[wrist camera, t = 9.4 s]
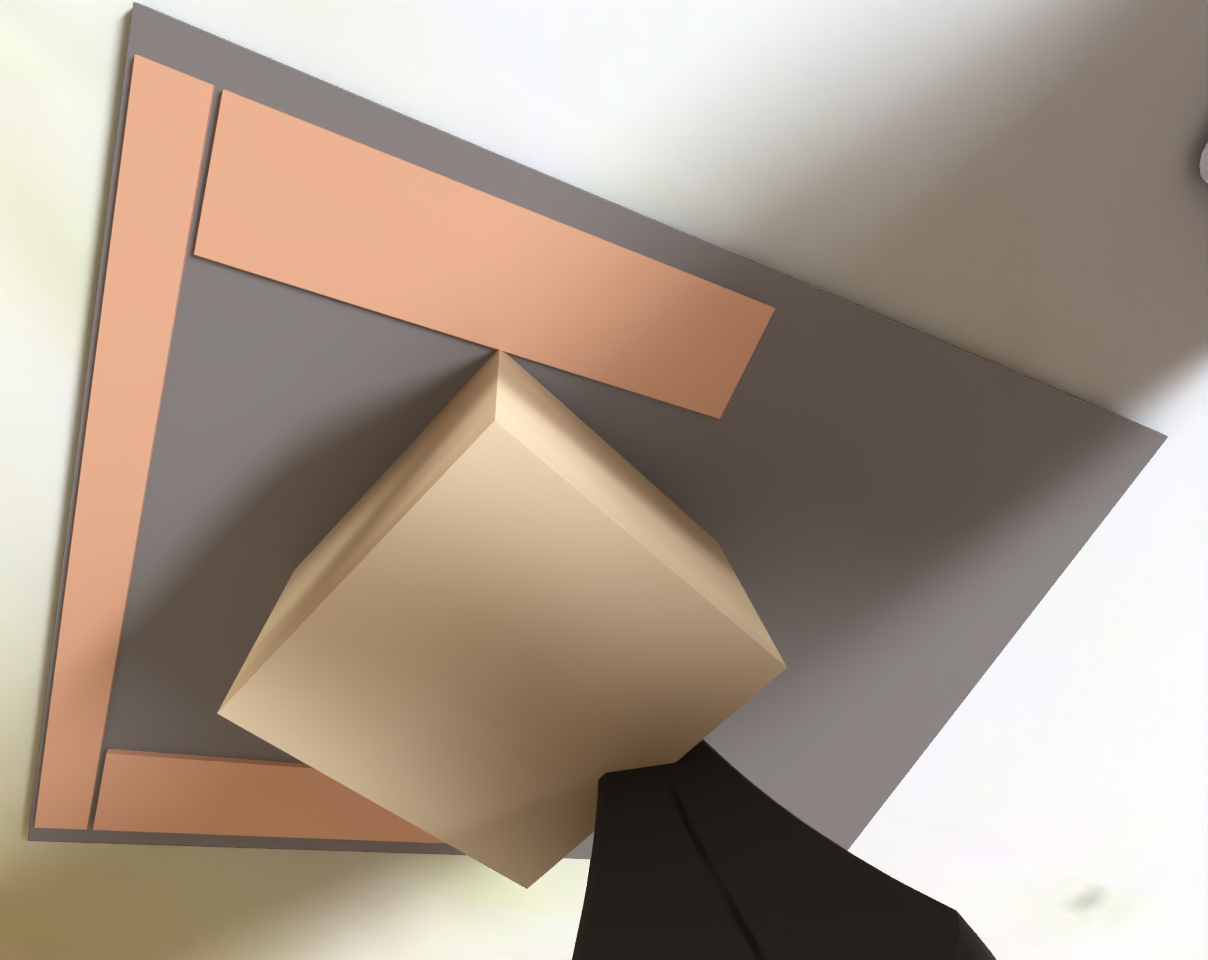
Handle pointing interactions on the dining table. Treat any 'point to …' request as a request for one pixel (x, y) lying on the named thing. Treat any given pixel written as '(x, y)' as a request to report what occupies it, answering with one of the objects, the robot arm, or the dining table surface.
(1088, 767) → the dining table surface
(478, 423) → the beech block
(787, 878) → the robot arm
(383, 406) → the mat
